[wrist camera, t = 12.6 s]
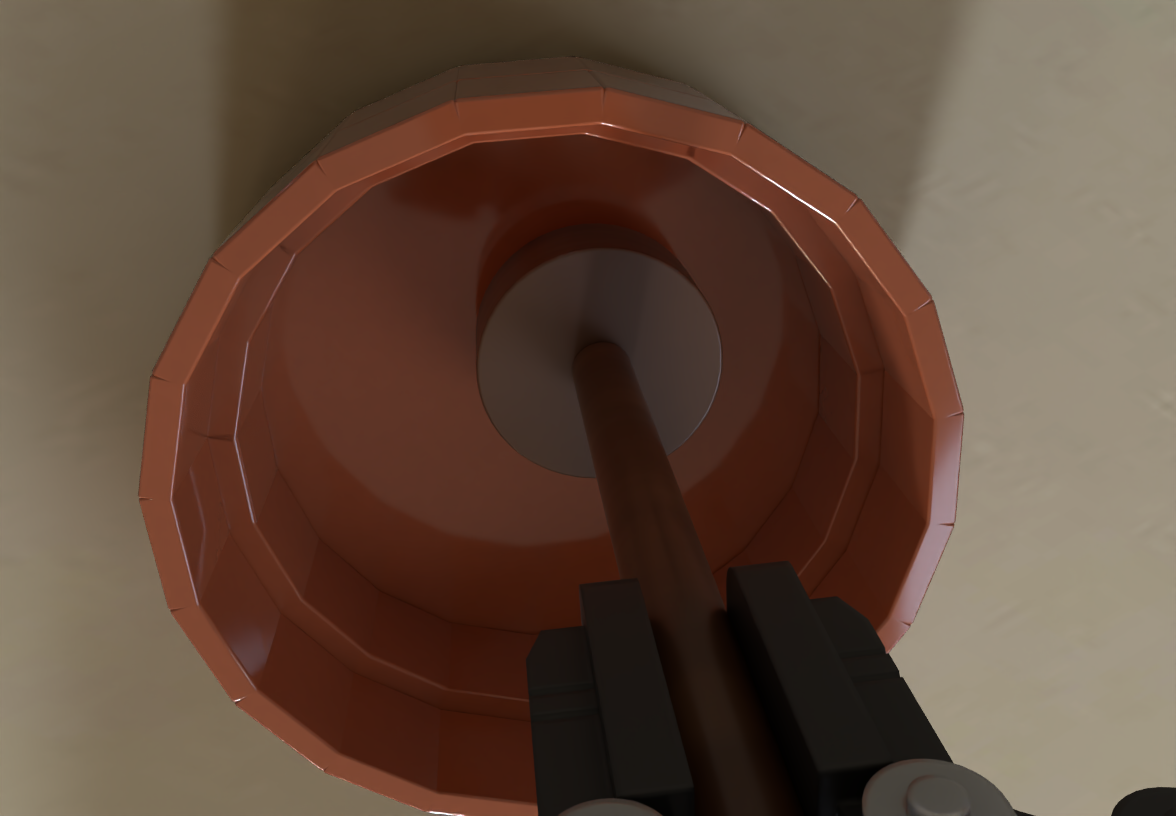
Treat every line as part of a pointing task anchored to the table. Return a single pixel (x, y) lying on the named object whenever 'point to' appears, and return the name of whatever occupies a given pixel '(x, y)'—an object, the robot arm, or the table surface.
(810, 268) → the mixing bowl
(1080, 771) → the table surface
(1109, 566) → the table surface
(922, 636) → the table surface
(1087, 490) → the table surface
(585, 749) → the robot arm
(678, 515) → the brown plunger
